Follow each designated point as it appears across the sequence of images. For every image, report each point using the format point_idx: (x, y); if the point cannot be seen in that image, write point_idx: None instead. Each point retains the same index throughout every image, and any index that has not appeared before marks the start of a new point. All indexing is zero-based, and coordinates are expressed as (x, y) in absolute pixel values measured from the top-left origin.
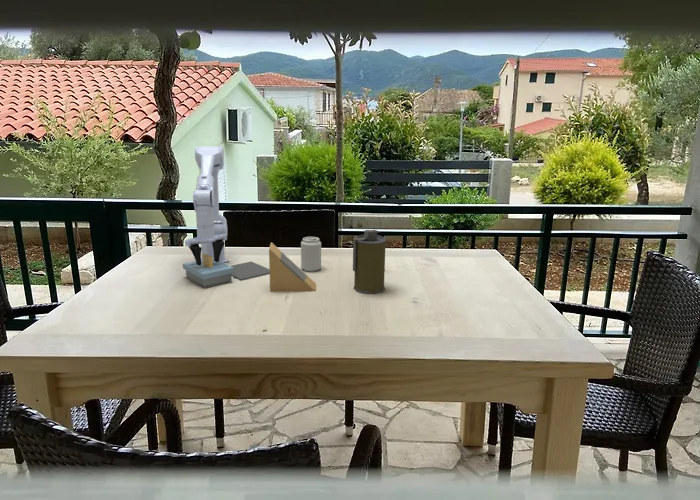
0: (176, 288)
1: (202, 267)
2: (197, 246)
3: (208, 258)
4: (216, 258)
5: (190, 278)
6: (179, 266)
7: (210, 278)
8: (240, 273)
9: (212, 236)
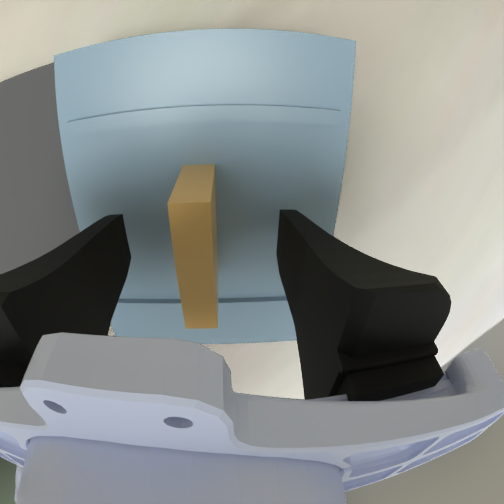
0: (409, 163)
1: (262, 203)
2: (369, 354)
3: (212, 213)
4: (114, 239)
5: None
6: (236, 384)
7: None
8: (29, 161)
9: (56, 486)
